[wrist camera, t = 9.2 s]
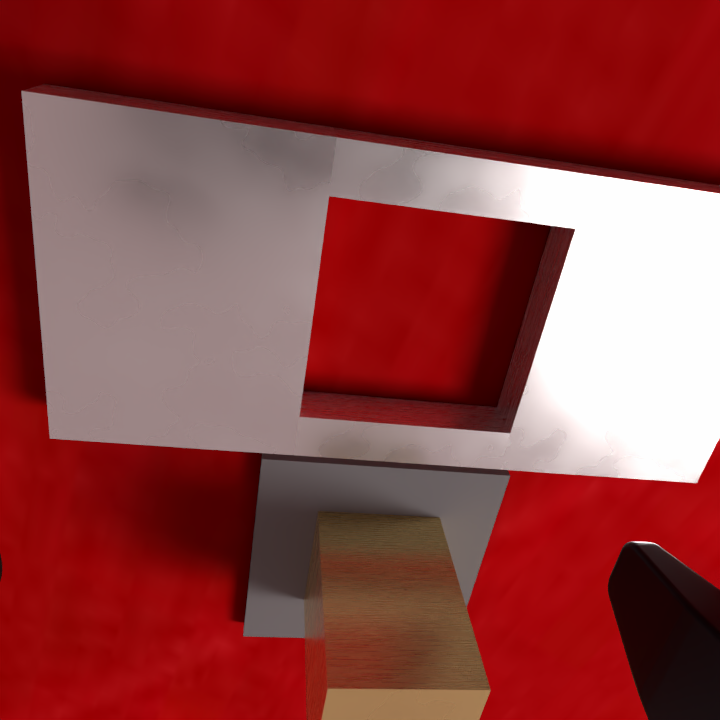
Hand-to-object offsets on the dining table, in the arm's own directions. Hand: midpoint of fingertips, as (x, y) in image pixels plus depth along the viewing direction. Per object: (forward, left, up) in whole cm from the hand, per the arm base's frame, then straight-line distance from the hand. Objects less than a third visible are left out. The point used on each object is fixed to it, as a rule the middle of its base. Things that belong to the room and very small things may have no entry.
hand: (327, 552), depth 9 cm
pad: (-4, +11, -12) cm, 17 cm away
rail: (-4, +1, -12) cm, 12 cm away
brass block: (-4, +11, -11) cm, 16 cm away
